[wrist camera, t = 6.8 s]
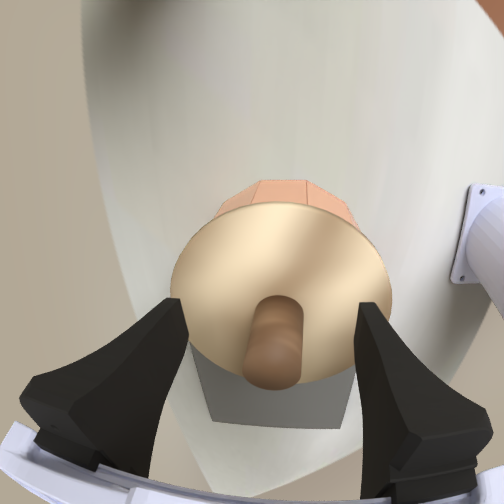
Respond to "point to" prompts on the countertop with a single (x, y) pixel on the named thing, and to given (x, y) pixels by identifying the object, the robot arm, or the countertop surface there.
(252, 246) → the lid
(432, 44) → the countertop surface
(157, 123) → the countertop surface
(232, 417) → the mat
